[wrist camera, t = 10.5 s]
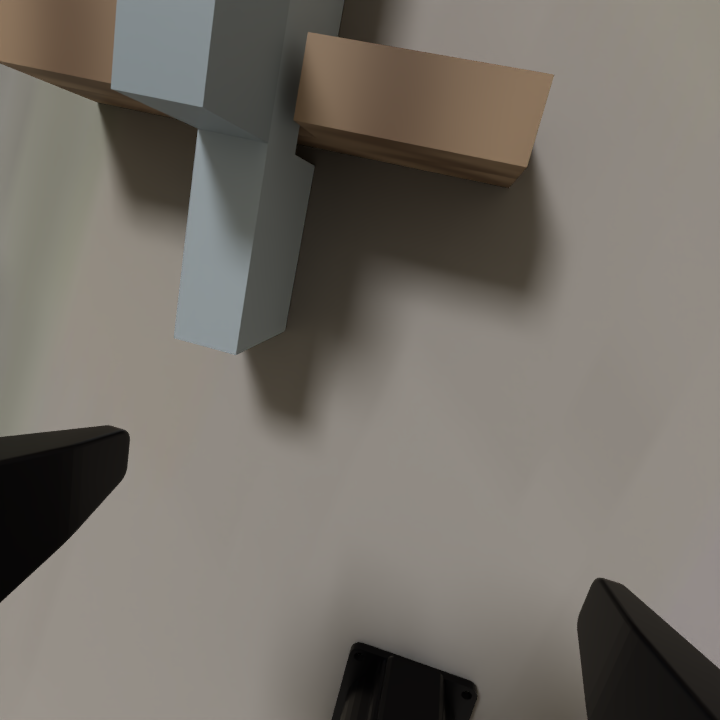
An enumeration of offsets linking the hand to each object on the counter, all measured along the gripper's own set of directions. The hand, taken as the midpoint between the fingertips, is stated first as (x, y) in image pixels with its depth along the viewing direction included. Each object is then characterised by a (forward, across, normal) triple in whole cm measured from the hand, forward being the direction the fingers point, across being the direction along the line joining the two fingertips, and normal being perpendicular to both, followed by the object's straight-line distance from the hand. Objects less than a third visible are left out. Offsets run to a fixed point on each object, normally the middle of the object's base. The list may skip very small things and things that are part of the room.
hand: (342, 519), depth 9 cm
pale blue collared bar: (+12, +7, -9) cm, 17 cm away
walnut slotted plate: (+12, +7, -9) cm, 17 cm away
